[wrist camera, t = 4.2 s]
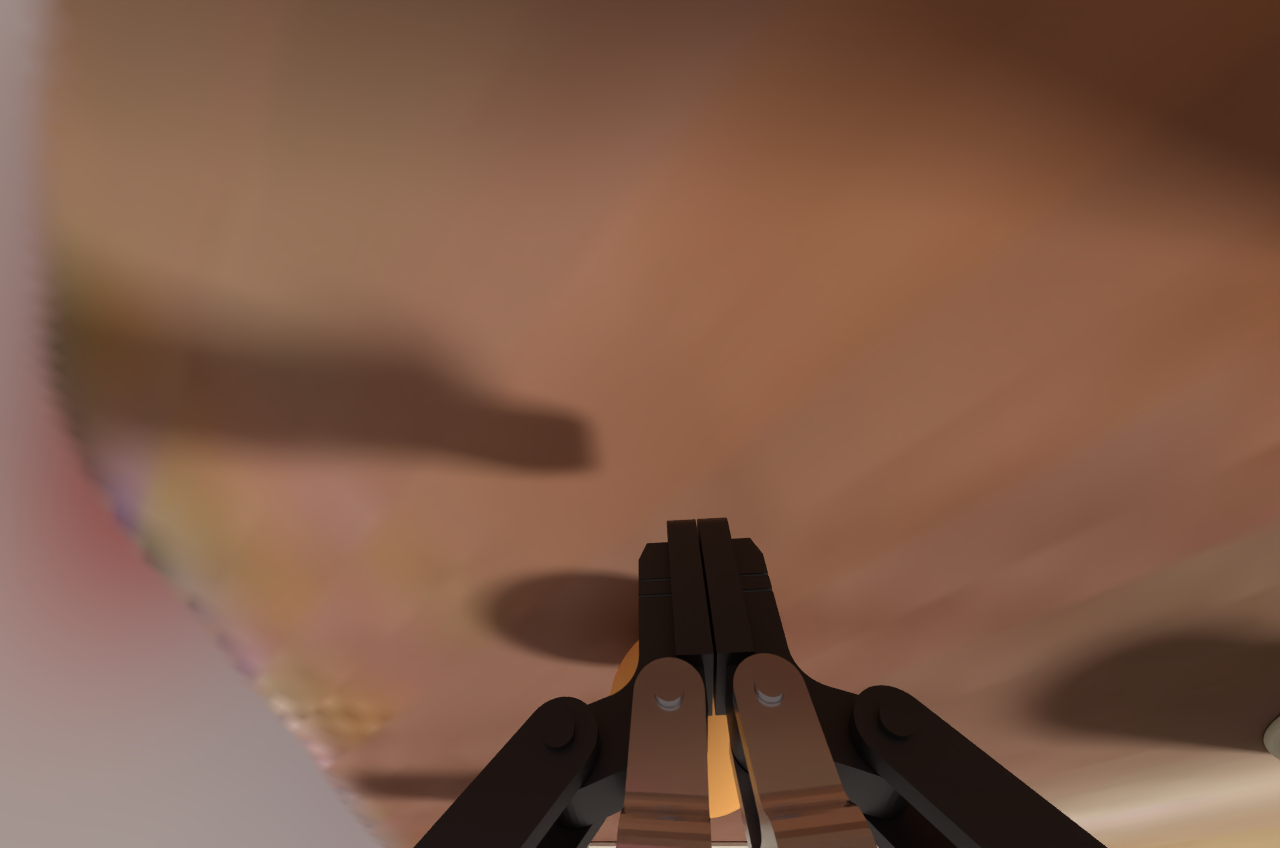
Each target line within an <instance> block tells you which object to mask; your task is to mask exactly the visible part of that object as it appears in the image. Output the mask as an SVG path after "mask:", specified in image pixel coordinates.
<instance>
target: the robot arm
mask: <svg viewBox="0 0 1280 848" xmlns="http://www.w3.org/2000/svg"><path fill="white" fill-rule="evenodd" d="M667 535H668V542H663V543H647V544H646V546H645V548H644V550H643V552H642V554H641V557H640V559H639V661H638V665H637V668H636V671H635V673H634V675H633V677H632V678H631V680H630V681H629V682H628V683H627V685H625V686H624V687H623V688H622V689H621V690H619V691H618V692H616V693H615V694H613V695H611V696H608V697H606V698H603V699H601V700H598V701H596V702H593V703H591V704H588V705H587V704H586V703H584V702H583V701H581V700H579V699H576V698H572V697H559V698H555V699H552V700H550V701H548V702H546V703H544V704H543V705H542V706H540V707H539V708H538V709H537V710H536V711H535V712H534V713H533V714H532V715H531V716H530V718H529V719H528V720H527V721H526V722H525V723H524V724H523V725H522V726H521V728H520V729H519V730H518V731H517V732H516V733H515V734H514V735H513V737H512V738H511V739H510V740H509V741H508V742H507V743H506V744H505V746H504V747H503V748H502V749H501V750H500V751H499V752H498V753H497V755H496V756H495V757H494V758H493V759H492V760H491V761H490V762H489V764H488V765H487V766H486V767H485V768H484V769H483V770H482V771H481V773H480V774H479V775H478V776H477V777H476V778H475V779H474V780H473V782H472V783H471V784H470V785H469V786H468V787H467V788H466V789H465V791H464V792H463V793H462V794H461V795H460V796H459V797H458V798H457V799H456V801H455V802H454V803H453V804H452V805H451V806H450V807H449V808H448V810H447V811H446V812H445V813H444V814H443V815H442V816H441V817H440V819H439V820H438V821H437V822H436V823H435V824H434V825H433V826H432V828H431V829H430V830H429V831H428V832H427V833H426V834H425V835H424V837H423V838H422V839H421V840H420V841H419V842H418V843H417V844H416V846H415V847H414V848H587V847H588V845H589V844H590V842H591V841H592V839H593V838H594V836H595V835H596V833H597V832H598V830H599V829H600V827H601V826H602V824H603V823H604V821H605V819H606V818H607V817H608V816H610V815H612V814H615V813H617V812H619V811H621V810H622V811H621V814H620V818H619V824H618V832H617V842H616V848H712V846H711V824H710V812H709V789H708V762H707V752H708V716H712V711H713V700H714V708H715V715H726V717H727V724H728V731H729V738H730V742H729V755H730V761H731V766H732V770H733V775H734V780H735V785H736V790H737V795H738V799H739V804H740V809H741V814H742V819H743V824H744V828H745V833H746V838H747V843H748V848H877V846H878V847H879V848H1107V847H1106V846H1105V845H1103V844H1102V843H1101V842H1099V841H1098V840H1097V839H1096V838H1094V837H1093V836H1092V835H1090V834H1089V833H1088V832H1087V831H1085V830H1084V829H1083V828H1081V827H1080V826H1079V825H1078V824H1076V823H1075V822H1074V821H1072V820H1071V819H1070V818H1069V817H1067V816H1066V815H1065V814H1063V813H1062V812H1061V811H1060V810H1058V809H1057V808H1056V807H1054V806H1053V805H1052V804H1051V803H1049V802H1048V801H1047V800H1045V799H1044V798H1043V797H1042V796H1040V795H1039V794H1038V793H1036V792H1035V791H1034V790H1033V789H1031V788H1030V787H1029V786H1027V785H1026V784H1025V783H1024V782H1022V781H1021V780H1020V779H1018V778H1017V777H1016V776H1015V775H1013V774H1012V773H1011V772H1009V771H1008V770H1007V769H1005V768H1004V767H1003V766H1002V765H1000V764H999V763H998V762H996V761H995V760H994V759H993V758H991V757H990V756H989V755H987V754H986V753H985V752H984V751H982V750H981V749H980V748H978V747H977V746H976V745H975V744H973V743H972V742H971V741H969V740H968V739H967V738H966V737H964V736H963V735H962V734H960V733H959V732H958V731H957V730H955V729H954V728H953V727H951V726H950V725H949V724H948V723H946V722H945V721H944V720H942V719H941V718H940V717H939V716H937V715H936V714H935V713H933V712H932V711H931V710H930V709H928V708H927V707H926V706H924V705H923V704H922V703H921V702H919V701H918V700H917V699H915V698H914V697H913V696H911V695H910V694H908V693H906V692H904V691H902V690H900V689H897V688H895V687H891V686H884V685H879V686H872V687H869V688H867V689H865V690H864V691H862V692H861V693H860V694H859V695H857V694H854V693H850V692H846V691H843V690H839V689H836V688H832V687H829V686H826V685H823V684H821V683H819V682H817V681H815V680H813V679H812V678H810V677H809V676H808V675H806V674H805V673H804V672H803V671H802V670H801V669H800V668H799V667H798V666H797V664H796V663H795V662H794V660H793V658H792V656H791V654H790V652H789V649H788V645H787V642H786V638H785V634H784V631H783V627H782V623H781V619H780V616H779V612H778V608H777V605H776V601H775V597H774V594H773V592H772V586H771V582H770V579H769V576H768V571H767V568H766V564H765V560H764V557H763V554H762V552H761V551H760V550H759V549H758V547H757V546H756V545H755V544H754V542H753V541H752V540H751V539H750V538H738V539H731V534H730V529H729V525H728V521H727V518H709V519H697V527H696V521H695V519H693V520H674V521H667Z"/></svg>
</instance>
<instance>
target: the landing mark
mask: <svg viewBox="0 0 1280 848" xmlns="http://www.w3.org/2000/svg"><path fill="white" fill-rule="evenodd" d="M711 846H712V848H748V843H747V842H711ZM589 848H616V843H590V844H589Z"/></svg>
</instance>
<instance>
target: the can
mask: <svg viewBox="0 0 1280 848" xmlns="http://www.w3.org/2000/svg"><path fill="white" fill-rule="evenodd" d="M1263 741H1264V745H1265V747H1266V749H1267V750H1268V751H1269V752H1270V753H1271V754H1272V755H1273V756H1275V757H1276V758H1278V759H1279V760H1280V716H1279V717H1278V718H1277V719H1275V720H1274V721H1273V723H1272V724H1271V725H1270V726H1269V727H1268V728H1267V730H1266V732H1265V734H1264V738H1263Z"/></svg>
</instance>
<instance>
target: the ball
mask: <svg viewBox="0 0 1280 848" xmlns="http://www.w3.org/2000/svg"><path fill="white" fill-rule="evenodd" d="M638 661H639V640H638V641H637V642H636V643H635V644H634V645H633V646H632V648H631V649H630V650H629V651H628V653H627V654H626V655H625V657H624V659H623V661H622V662H621V664H620V666H619V668H618V671H617V673H616V675H615V678H614V682H613V685H612V689H611V694H610V696H611V695H613V694H615V693H616V692H618V691H619V690H621V689H622V688H623V687H624V686H625V685H627V683H628V682H629V681H630V680H631V678H632V677H633V675H634V673H635V671H636V668H637V665H638ZM729 742H730V738H729V731H728V724H727V717H726V715H715V708H714V700H713V711H712V716H708V752H707V762H708V789H709V812H710V818H715V817H720V816H724V815H727V814H729V813H731V812H733V811H735V810H737V809H739V808H740V804H739V799H738V795H737V790H736V785H735V780H734V775H733V770H732V766H731V761H730V755H729Z"/></svg>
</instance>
